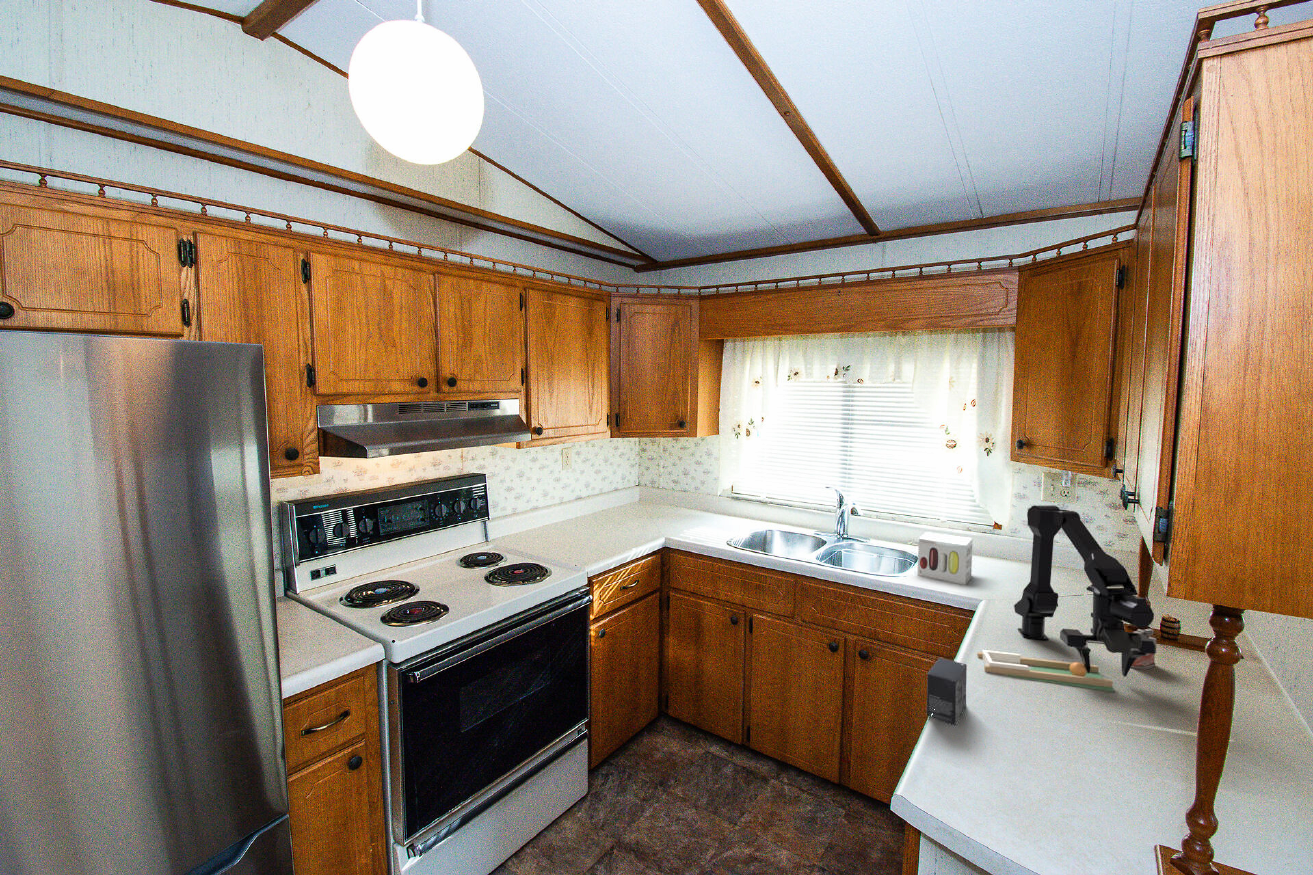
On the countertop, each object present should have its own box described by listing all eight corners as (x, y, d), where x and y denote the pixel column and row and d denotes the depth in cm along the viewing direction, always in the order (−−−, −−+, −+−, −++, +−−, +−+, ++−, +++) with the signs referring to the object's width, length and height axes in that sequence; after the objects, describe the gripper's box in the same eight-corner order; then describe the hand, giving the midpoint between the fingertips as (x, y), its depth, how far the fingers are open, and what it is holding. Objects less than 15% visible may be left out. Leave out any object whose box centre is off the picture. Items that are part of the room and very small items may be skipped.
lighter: (1136, 671, 153) (1138, 634, 153) (1123, 665, 156) (1125, 629, 156) (1158, 667, 155) (1160, 630, 155) (1145, 661, 159) (1147, 626, 158)
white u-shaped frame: (981, 658, 160) (982, 649, 159) (1019, 662, 157) (1019, 653, 157) (989, 671, 152) (989, 662, 152) (1028, 676, 149) (1028, 666, 149)
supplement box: (916, 583, 226) (917, 537, 225) (924, 575, 237) (925, 531, 236) (965, 592, 216) (967, 544, 215) (972, 583, 226) (973, 537, 225)
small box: (936, 698, 140) (938, 656, 139) (966, 707, 136) (968, 663, 135) (924, 717, 132) (925, 672, 131) (956, 727, 128) (957, 681, 127)
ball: (1071, 673, 152) (1064, 661, 151) (1085, 668, 150) (1079, 657, 150) (1076, 682, 148) (1070, 670, 148) (1091, 677, 147) (1085, 665, 147)
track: (976, 657, 161) (976, 650, 161) (1095, 671, 153) (1095, 663, 153) (986, 675, 151) (986, 668, 151) (1114, 691, 143) (1114, 683, 142)
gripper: (1076, 620, 142) (1075, 683, 142) (1169, 627, 136) (1168, 693, 137) (1059, 606, 152) (1058, 664, 153) (1144, 612, 147) (1144, 672, 147)
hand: (1106, 673), depth 147 cm, fingers open, 7 cm apart
